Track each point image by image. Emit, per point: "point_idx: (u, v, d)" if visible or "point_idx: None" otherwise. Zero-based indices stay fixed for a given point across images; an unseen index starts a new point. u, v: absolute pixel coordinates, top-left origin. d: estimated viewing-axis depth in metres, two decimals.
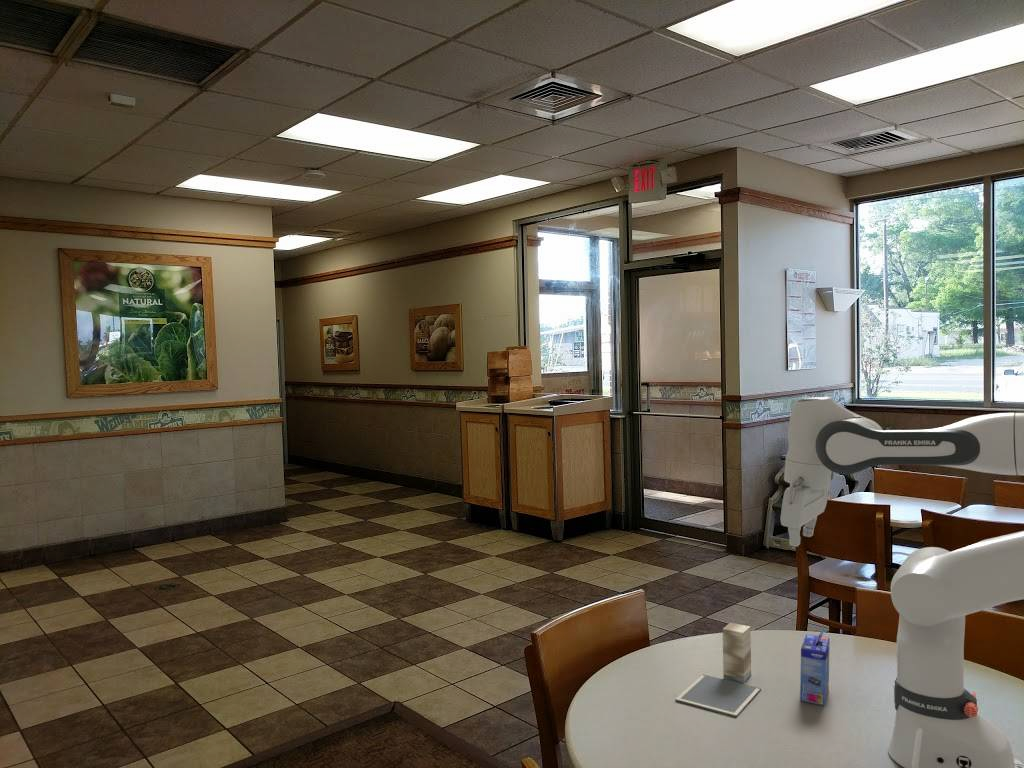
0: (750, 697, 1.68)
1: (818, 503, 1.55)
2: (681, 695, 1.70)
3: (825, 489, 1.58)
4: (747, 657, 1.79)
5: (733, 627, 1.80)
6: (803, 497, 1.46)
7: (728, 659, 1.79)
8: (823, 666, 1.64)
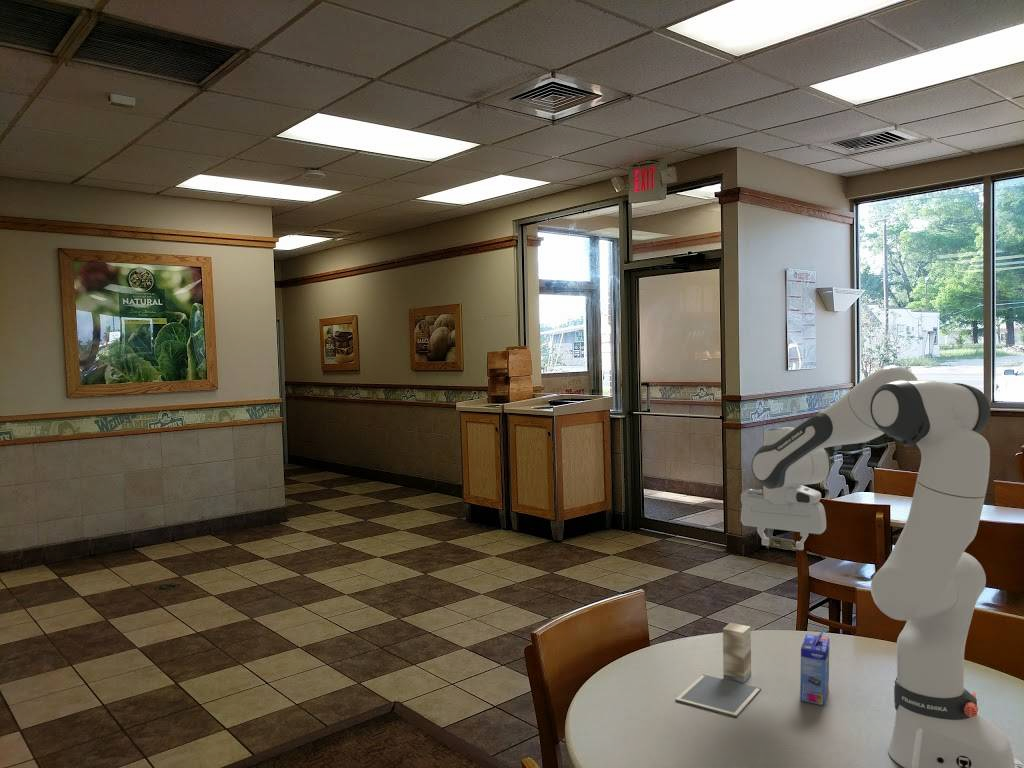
0: (750, 697, 1.68)
1: (795, 519, 1.82)
2: (681, 695, 1.70)
3: (811, 511, 1.80)
4: (747, 657, 1.78)
5: (734, 627, 1.80)
6: (747, 502, 1.89)
7: (728, 659, 1.79)
8: (823, 666, 1.64)
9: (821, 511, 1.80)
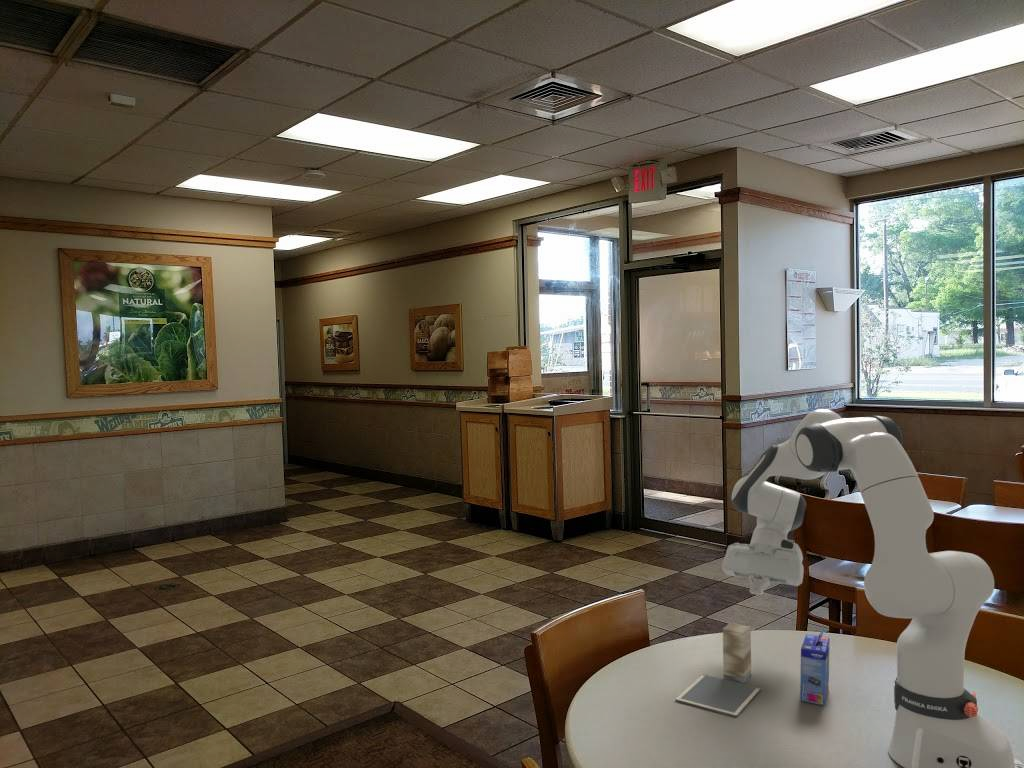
0: (750, 697, 1.68)
1: (774, 566, 1.91)
2: (681, 695, 1.70)
3: (792, 559, 1.90)
4: (747, 657, 1.78)
5: (734, 627, 1.80)
6: (732, 549, 2.00)
7: (728, 659, 1.79)
8: (823, 666, 1.64)
9: (801, 563, 1.90)
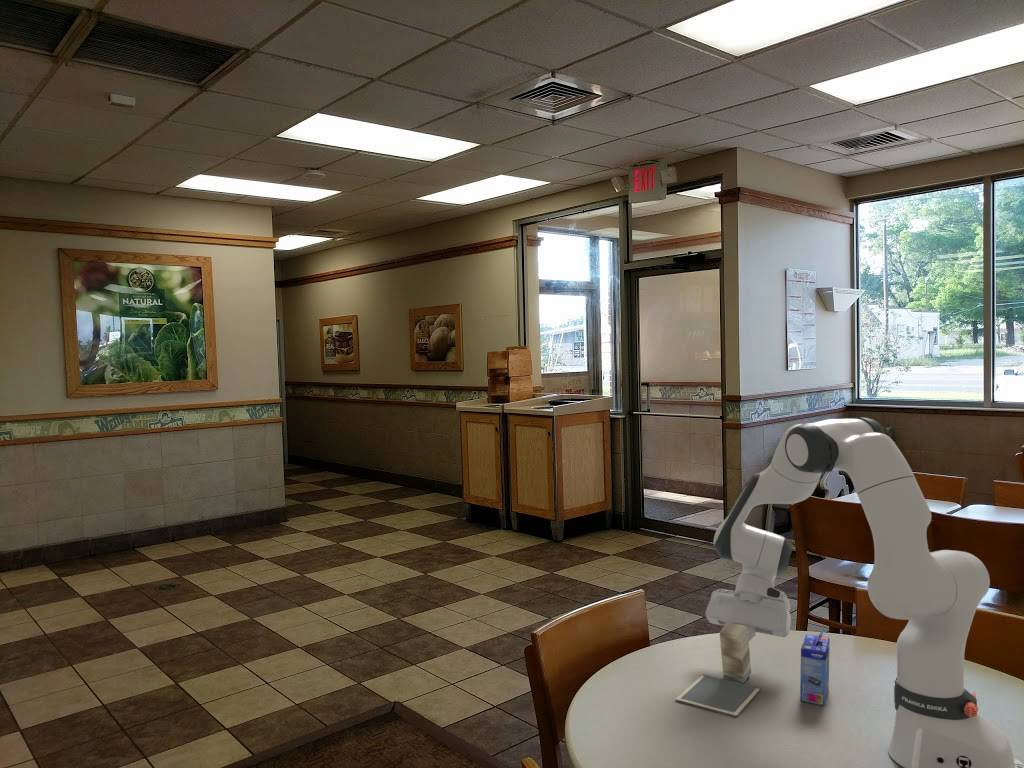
0: (750, 697, 1.68)
1: (760, 615, 1.82)
2: (681, 695, 1.70)
3: (778, 609, 1.81)
4: (746, 657, 1.78)
5: (731, 628, 1.78)
6: (717, 596, 1.91)
7: (727, 660, 1.78)
8: (823, 666, 1.64)
9: (788, 612, 1.81)
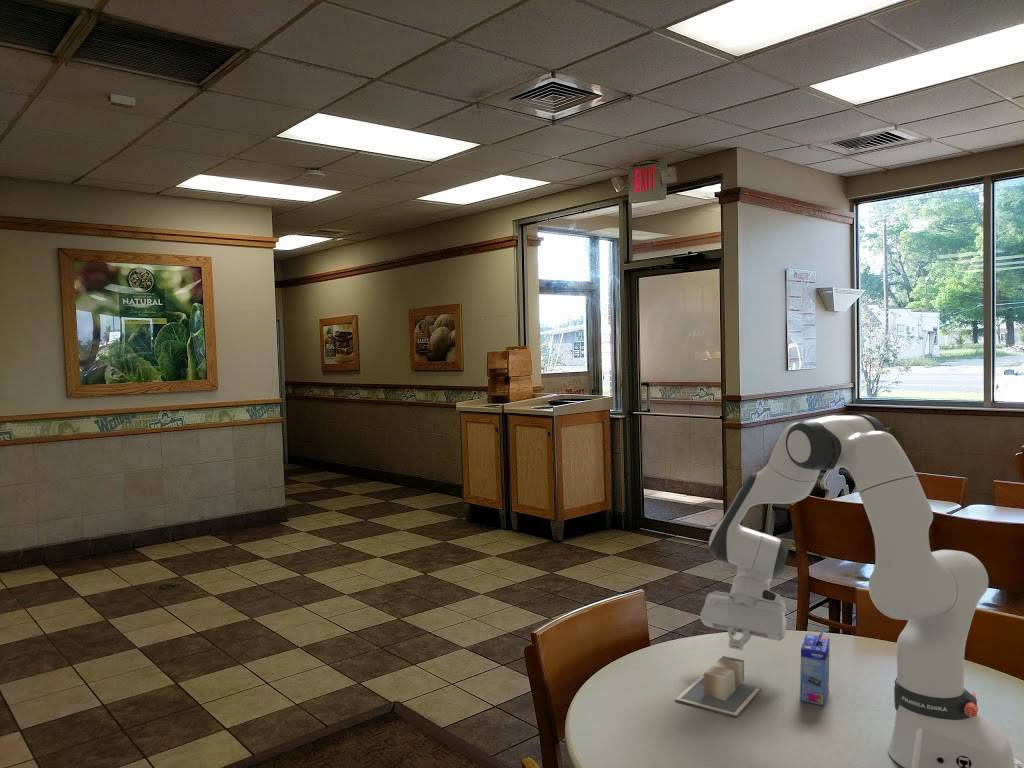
0: (750, 697, 1.68)
1: (755, 618, 1.80)
2: (681, 695, 1.70)
3: (774, 612, 1.79)
4: (736, 678, 1.72)
5: (712, 686, 1.69)
6: (712, 598, 1.89)
7: None
8: (823, 666, 1.64)
9: (784, 615, 1.78)
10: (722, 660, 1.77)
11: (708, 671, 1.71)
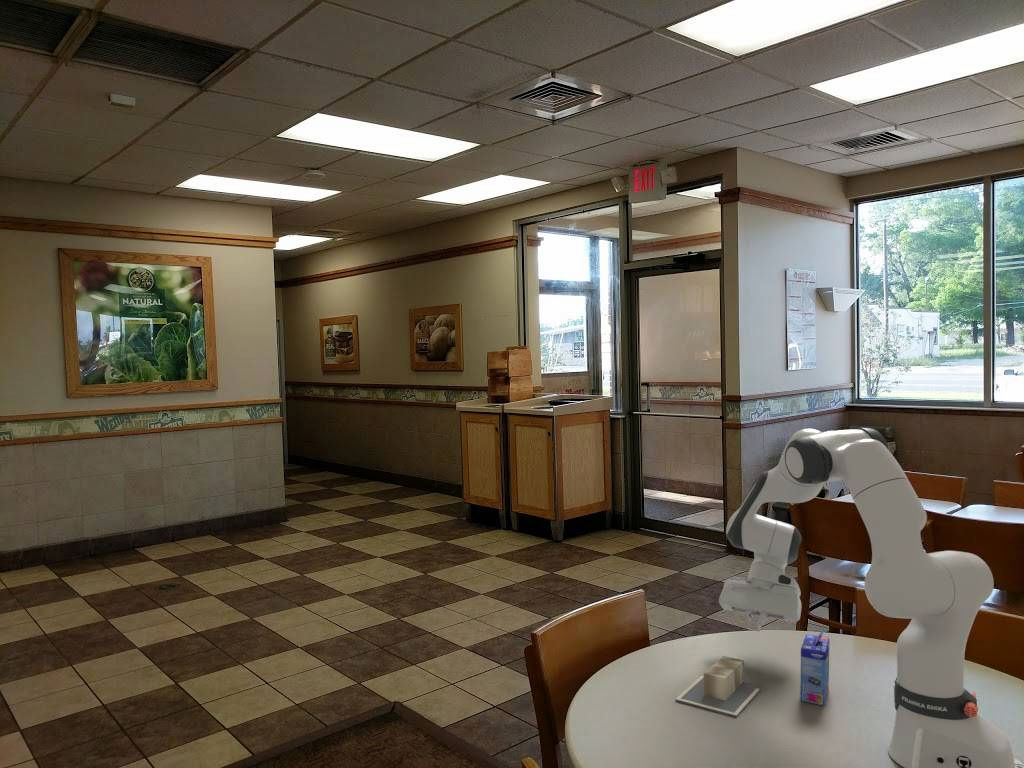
0: (750, 697, 1.68)
1: (772, 601, 1.90)
2: (681, 695, 1.70)
3: (789, 595, 1.89)
4: (736, 678, 1.72)
5: (712, 686, 1.69)
6: (730, 583, 1.99)
7: None
8: (823, 666, 1.64)
9: (799, 598, 1.88)
10: (722, 660, 1.77)
11: (708, 671, 1.71)
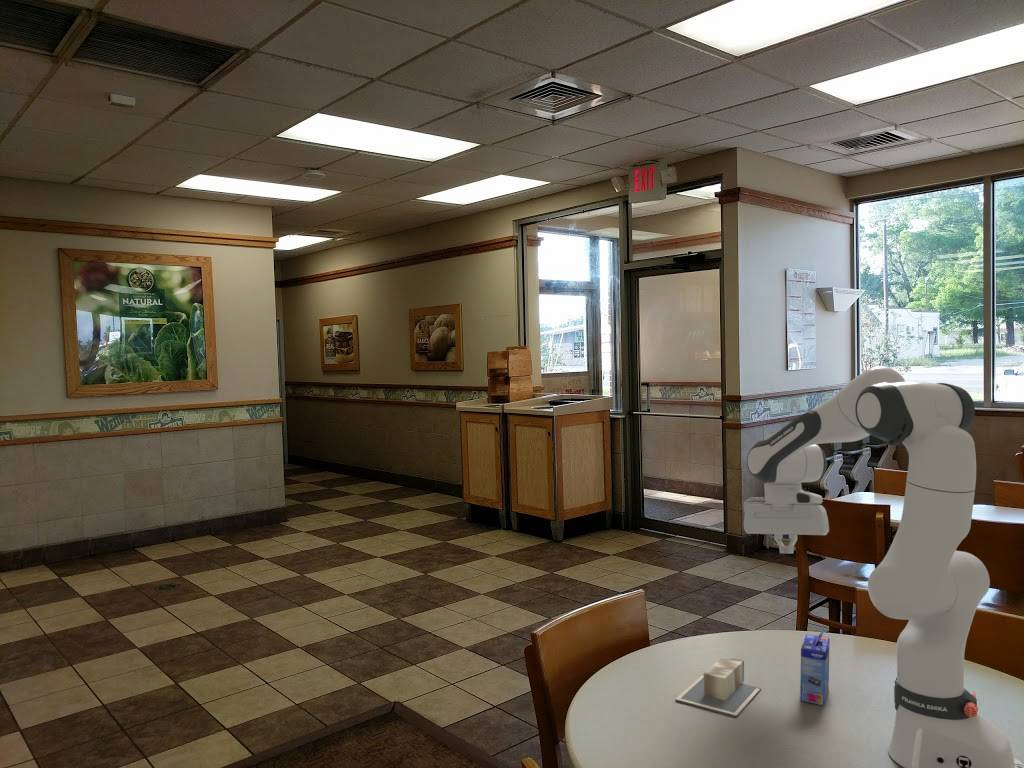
0: (750, 697, 1.68)
1: (797, 522, 1.82)
2: (681, 695, 1.70)
3: (812, 512, 1.80)
4: (736, 678, 1.72)
5: (712, 686, 1.69)
6: (749, 509, 1.90)
7: None
8: (823, 666, 1.64)
9: (823, 511, 1.80)
10: (722, 660, 1.77)
11: (708, 671, 1.71)
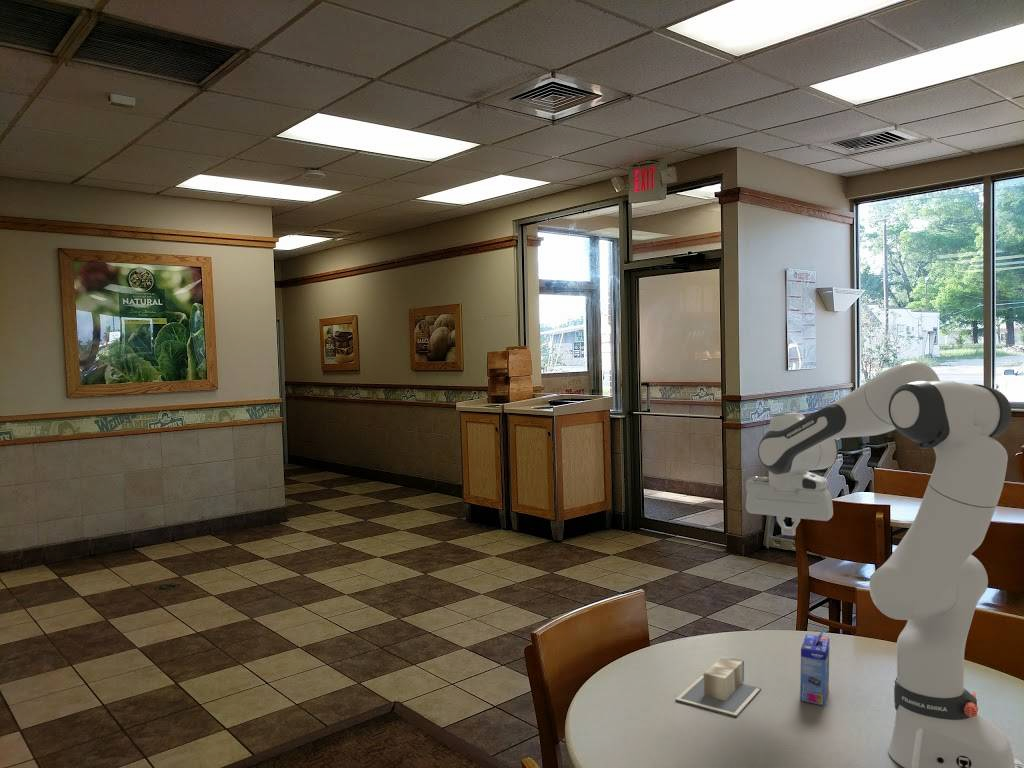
0: (750, 697, 1.68)
1: (801, 506, 1.79)
2: (681, 695, 1.70)
3: (818, 498, 1.77)
4: (736, 678, 1.72)
5: (712, 686, 1.69)
6: (752, 489, 1.86)
7: None
8: (823, 666, 1.64)
9: (828, 497, 1.77)
10: (722, 660, 1.77)
11: (708, 671, 1.71)
